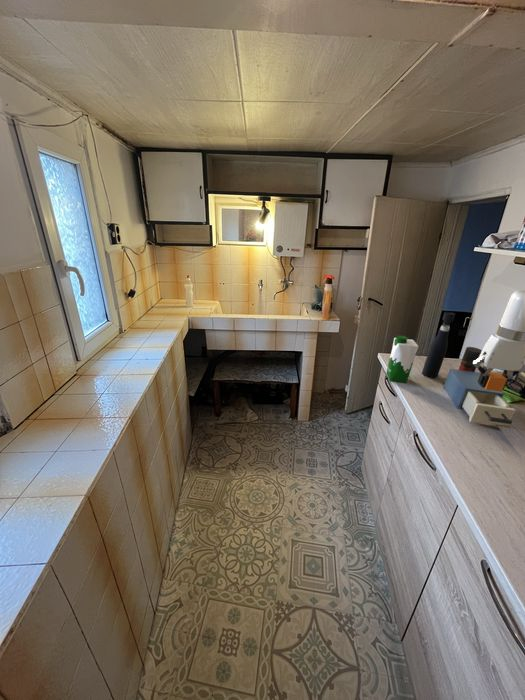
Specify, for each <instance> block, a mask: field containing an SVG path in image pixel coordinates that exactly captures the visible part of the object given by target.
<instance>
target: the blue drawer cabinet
mask: <svg viewBox="0 0 525 700" xmlns="http://www.w3.org/2000/svg"><path fill="white" fill-rule="evenodd" d="M480 374H481V372H478V371H475V372H471V371H463V370H458V369H454V368H449V371H448V374H447V375H446V376H447V377H446V379H445V382H444V385H443V389H444V391H445V393H447V395H448V396H449V398H450V399H451V401H452V402H453V404H454V405H455V407H456V409H459V410H464V408H463V407H462V405H461V404H462V402H463V399H464V397H465V394H466V392H467V390H468V391H475V392H482V393H489V394H496V395H499V396H500V397H501V398H502V399H503V397H504V395H505V393H504V391H502V392H500V391H492V390H485V388H483V387H481V386H480V385H479V384H478V379H479V376H480Z"/></svg>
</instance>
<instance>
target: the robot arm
mask: <svg viewBox="0 0 525 700" xmlns="http://www.w3.org/2000/svg"><path fill="white" fill-rule="evenodd" d="M481 350H482V352H481V354H480V356H479V358H478V359H477V360H475V361H474V362H473V363H472V364H473V365H474V366H475V367H476V370H478V371H479V373H481V374H480V376H479V379H478V384H479V385H480V386H481V387H483V388H484V387H485V386H486V383H487V381H488V379H489V377H488V374H489V373H490V372H493V370H502V375H503V376H504V377H505V378H506V379H507V381H506V383H505V385H504V387H503V390H502V391H504V389H505V387H506V386H507V384H508V382H509V380H512V379H513V377H515V376H517V375H519V374H522V373H525V290H523V289H522V290H520V289H519V290H516V291H514V292H513V293H511V295H510V298H509V300H508V302H507V304H506V306H505V309H504V312H503V315H502V317H501V320H500V322H499V325H498V327H497V329H496V332H495V333H492V334H491V335H490V336H489V338H488V339H487V341H485V344H484V345H483V348H482V349H481ZM481 364H483V365H481Z"/></svg>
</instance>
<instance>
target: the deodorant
mask: <svg viewBox="0 0 525 700" xmlns="http://www.w3.org/2000/svg"><path fill="white" fill-rule="evenodd" d="M482 350H483V349H480V348H479V347H474V346H467V347H466V348H465V350H464V353H463V356H462V358H461V361H460V363H459V366H458V369H457V370H463V371H471V372H476V370H477V368H476V367H475V366H474V365H473V364H472V363H473V362H474V361H475V360H477V359H478V358H479V356H480V354H481V352H482Z"/></svg>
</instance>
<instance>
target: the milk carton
mask: <svg viewBox="0 0 525 700" xmlns="http://www.w3.org/2000/svg"><path fill="white" fill-rule="evenodd" d="M419 346H420V345H418V344H417V342H416V341H415V340H414V339H409V338H408V337H407V336H406V335H402V334H398V335H397V336H396V337H394V338H393V343H392V348H391V352H390V356H389V359H388V365H387V369H386V373H385V374H386V376H387V379H388V380H389V382H393V383H394V382H395V383H402V384H407V383H408V380H409V378H410V374H411V371H412V368H413V364H414V361H415V358H416V354H417V351H418V350H419Z"/></svg>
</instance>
